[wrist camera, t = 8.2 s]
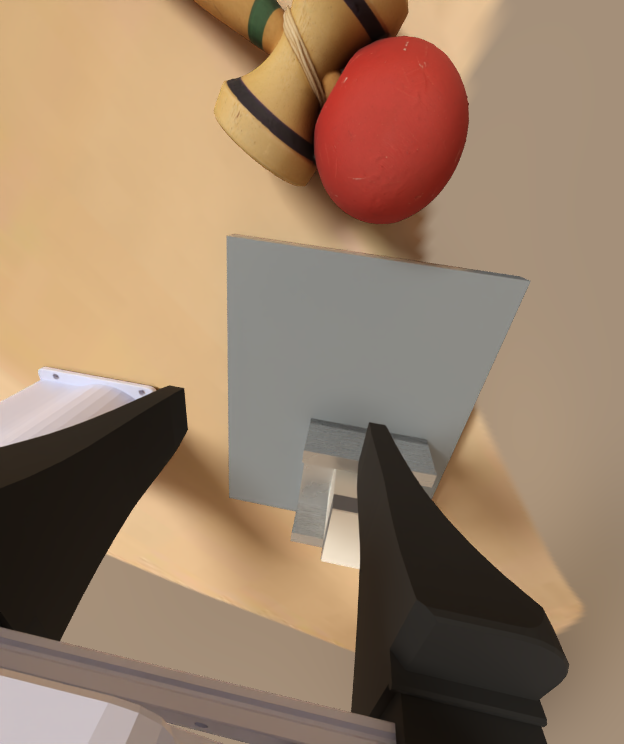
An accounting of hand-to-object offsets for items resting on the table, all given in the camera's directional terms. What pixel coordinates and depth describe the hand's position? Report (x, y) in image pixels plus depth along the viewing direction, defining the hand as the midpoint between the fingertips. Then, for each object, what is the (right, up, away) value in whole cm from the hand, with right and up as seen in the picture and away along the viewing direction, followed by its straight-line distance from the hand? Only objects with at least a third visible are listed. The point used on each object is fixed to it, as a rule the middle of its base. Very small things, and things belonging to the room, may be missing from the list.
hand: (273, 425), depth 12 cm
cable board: (+4, -1, +10) cm, 11 cm away
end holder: (+5, -6, +12) cm, 14 cm away
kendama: (0, +17, +3) cm, 17 cm away
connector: (+5, -6, +11) cm, 13 cm away
